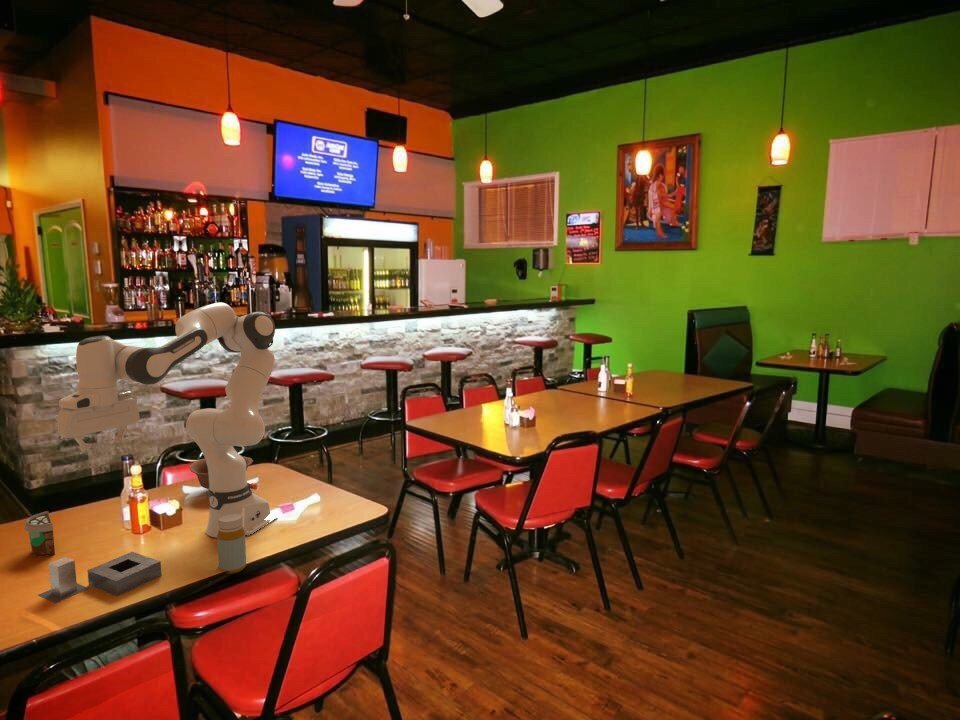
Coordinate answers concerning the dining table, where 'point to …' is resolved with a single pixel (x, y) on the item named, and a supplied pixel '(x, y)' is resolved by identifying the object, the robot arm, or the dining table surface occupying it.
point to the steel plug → (62, 576)
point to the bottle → (231, 543)
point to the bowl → (202, 470)
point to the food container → (41, 534)
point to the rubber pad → (56, 599)
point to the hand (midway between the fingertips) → (102, 446)
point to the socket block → (124, 573)
